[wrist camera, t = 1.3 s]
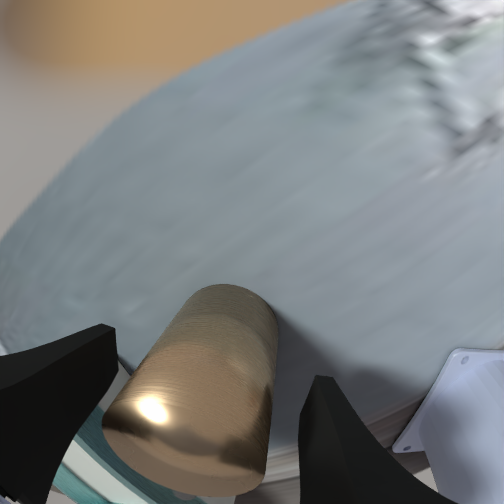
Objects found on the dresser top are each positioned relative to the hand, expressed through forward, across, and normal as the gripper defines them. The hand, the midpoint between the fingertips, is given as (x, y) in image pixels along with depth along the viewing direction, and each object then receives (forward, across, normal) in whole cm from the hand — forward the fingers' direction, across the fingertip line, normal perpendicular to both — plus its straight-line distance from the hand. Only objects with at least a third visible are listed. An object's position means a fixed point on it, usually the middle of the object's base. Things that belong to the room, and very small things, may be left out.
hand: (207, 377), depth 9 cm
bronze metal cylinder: (+3, 0, 0) cm, 3 cm away
